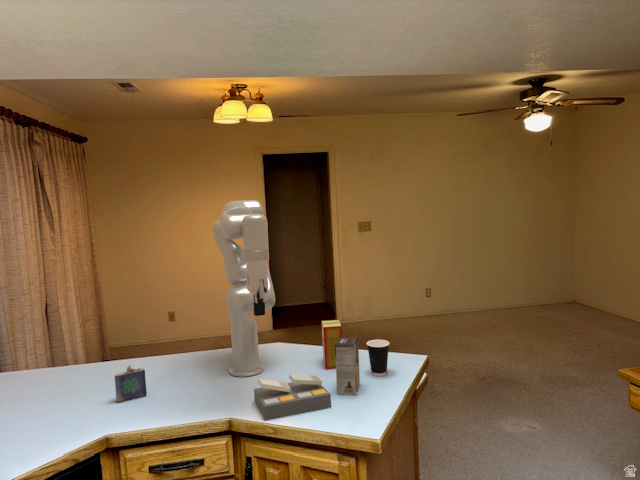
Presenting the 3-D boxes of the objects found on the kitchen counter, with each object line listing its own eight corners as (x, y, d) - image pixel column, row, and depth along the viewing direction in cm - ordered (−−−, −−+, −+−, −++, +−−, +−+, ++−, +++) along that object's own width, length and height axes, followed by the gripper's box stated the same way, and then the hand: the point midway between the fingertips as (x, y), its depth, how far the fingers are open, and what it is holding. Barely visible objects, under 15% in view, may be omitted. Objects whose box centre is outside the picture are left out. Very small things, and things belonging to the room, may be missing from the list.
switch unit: (254, 401, 146) (253, 384, 145) (315, 390, 152) (314, 374, 152) (265, 420, 133) (264, 402, 132) (331, 407, 139) (330, 389, 139)
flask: (116, 403, 149) (114, 370, 148) (115, 400, 151) (113, 368, 150) (147, 396, 153) (145, 364, 153) (145, 393, 156) (143, 362, 155)
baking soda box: (343, 368, 171) (341, 325, 170) (325, 369, 171) (323, 326, 170) (340, 359, 181) (338, 318, 180) (323, 361, 180) (321, 319, 179)
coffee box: (341, 383, 157) (339, 336, 156) (360, 384, 156) (358, 336, 155) (336, 394, 148) (334, 344, 147) (356, 395, 147) (354, 345, 146)
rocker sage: (289, 378, 145) (289, 374, 145) (316, 379, 149) (316, 375, 149) (293, 383, 141) (294, 379, 141) (321, 384, 144) (322, 380, 144)
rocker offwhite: (257, 381, 142) (258, 377, 142) (285, 386, 145) (286, 382, 145) (261, 387, 137) (262, 383, 137) (289, 392, 140) (290, 388, 140)
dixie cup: (390, 369, 168) (389, 339, 167) (390, 378, 160) (389, 346, 159) (368, 369, 169) (367, 339, 168) (366, 377, 161) (365, 346, 161)
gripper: (239, 254, 149) (242, 311, 150) (249, 259, 135) (252, 322, 136) (262, 252, 151) (265, 308, 153) (274, 257, 137) (277, 318, 139)
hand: (259, 314), depth 145 cm, fingers closed
